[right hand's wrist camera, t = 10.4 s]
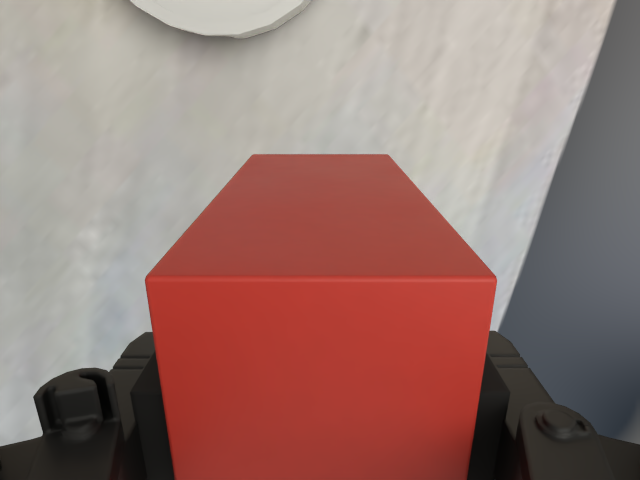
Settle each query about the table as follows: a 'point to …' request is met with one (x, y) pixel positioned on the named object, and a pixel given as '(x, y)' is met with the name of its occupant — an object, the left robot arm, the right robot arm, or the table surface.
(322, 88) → the table surface
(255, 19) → the ashtray
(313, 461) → the brick
